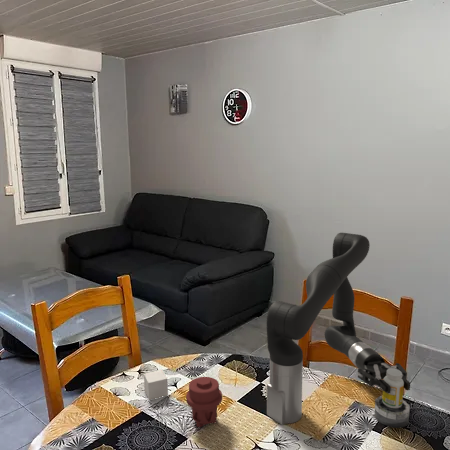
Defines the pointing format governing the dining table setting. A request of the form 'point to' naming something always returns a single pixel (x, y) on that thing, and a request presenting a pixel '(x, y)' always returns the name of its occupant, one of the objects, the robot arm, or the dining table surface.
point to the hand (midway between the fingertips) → (399, 388)
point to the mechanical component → (204, 400)
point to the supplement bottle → (393, 388)
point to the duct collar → (392, 414)
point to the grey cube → (155, 384)
